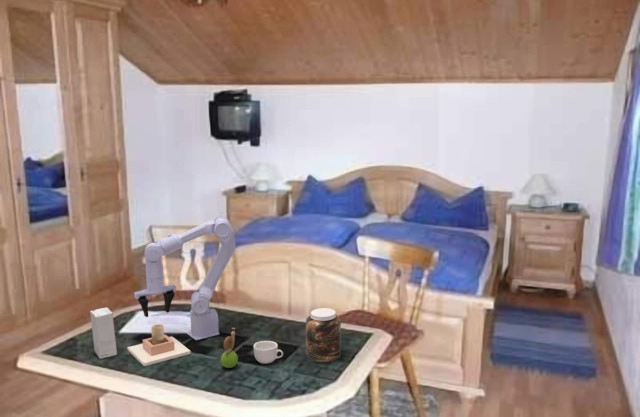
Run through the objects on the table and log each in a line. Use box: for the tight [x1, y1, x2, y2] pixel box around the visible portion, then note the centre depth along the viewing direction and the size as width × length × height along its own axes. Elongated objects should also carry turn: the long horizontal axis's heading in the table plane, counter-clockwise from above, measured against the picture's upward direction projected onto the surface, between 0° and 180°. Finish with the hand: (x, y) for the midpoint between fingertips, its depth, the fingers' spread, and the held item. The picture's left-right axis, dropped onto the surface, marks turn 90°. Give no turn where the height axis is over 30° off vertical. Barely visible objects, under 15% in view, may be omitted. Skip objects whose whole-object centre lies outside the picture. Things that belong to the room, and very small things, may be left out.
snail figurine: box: [220, 327, 239, 369], centre depth 184 cm, size 5×6×12 cm
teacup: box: [253, 340, 284, 365], centre depth 188 cm, size 10×8×5 cm
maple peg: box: [150, 324, 165, 345], centre depth 196 cm, size 4×4×8 cm
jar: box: [305, 307, 342, 363], centre depth 192 cm, size 12×12×15 cm
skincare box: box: [89, 307, 118, 360], centre depth 194 cm, size 8×6×15 cm
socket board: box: [127, 333, 192, 367], centre depth 196 cm, size 16×16×4 cm
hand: (156, 313), depth 206 cm, fingers open, 7 cm apart
